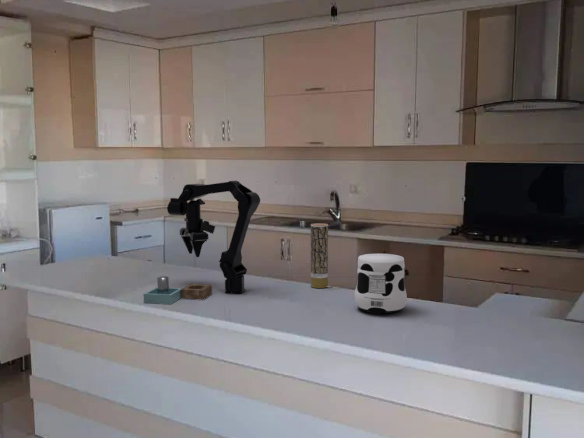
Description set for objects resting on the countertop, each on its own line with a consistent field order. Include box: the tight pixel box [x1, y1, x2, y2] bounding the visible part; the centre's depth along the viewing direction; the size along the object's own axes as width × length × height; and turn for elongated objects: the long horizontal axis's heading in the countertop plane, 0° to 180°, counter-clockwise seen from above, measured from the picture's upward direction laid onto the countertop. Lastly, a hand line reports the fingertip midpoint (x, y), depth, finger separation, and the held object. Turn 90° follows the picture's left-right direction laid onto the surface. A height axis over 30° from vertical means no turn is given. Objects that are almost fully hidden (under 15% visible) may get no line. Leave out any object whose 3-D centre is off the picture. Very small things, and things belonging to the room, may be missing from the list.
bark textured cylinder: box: [310, 222, 329, 289], centre depth 224 cm, size 7×7×25 cm
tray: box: [143, 286, 182, 305], centre depth 205 cm, size 10×10×3 cm
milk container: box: [354, 253, 408, 314], centre depth 190 cm, size 17×17×18 cm
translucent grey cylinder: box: [156, 275, 170, 295], centre depth 205 cm, size 4×4×8 cm
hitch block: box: [181, 283, 213, 300], centre depth 210 cm, size 9×9×4 cm
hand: (194, 255), depth 223 cm, fingers open, 9 cm apart
